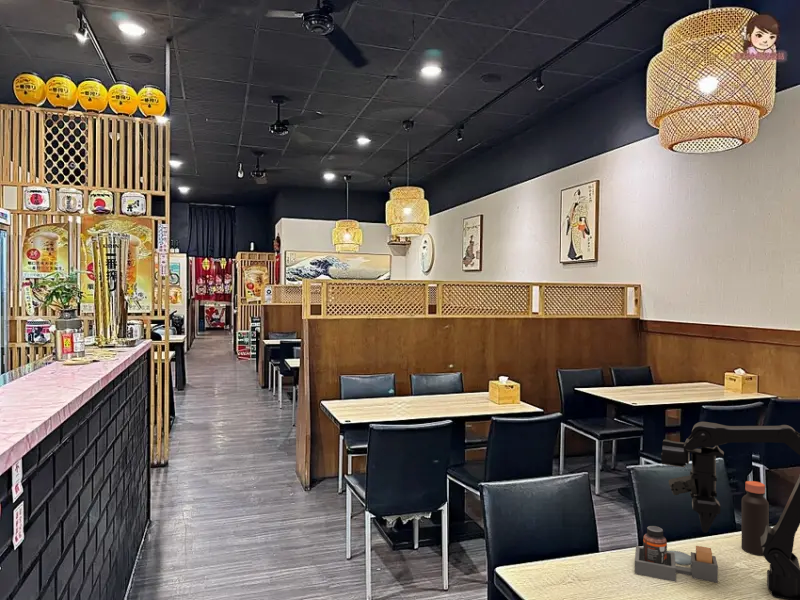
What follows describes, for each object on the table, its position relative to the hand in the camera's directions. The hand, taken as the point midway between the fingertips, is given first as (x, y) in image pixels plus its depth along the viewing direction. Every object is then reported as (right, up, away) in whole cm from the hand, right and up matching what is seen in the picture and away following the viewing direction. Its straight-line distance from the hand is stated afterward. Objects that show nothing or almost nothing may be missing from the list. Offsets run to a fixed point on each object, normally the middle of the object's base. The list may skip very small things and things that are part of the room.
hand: (703, 527), depth 149 cm
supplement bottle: (-12, -13, +3) cm, 18 cm away
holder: (-7, -13, +1) cm, 15 cm away
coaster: (-2, -13, +10) cm, 16 cm away
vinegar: (+23, -13, +15) cm, 30 cm away
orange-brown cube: (0, -10, 0) cm, 10 cm away
